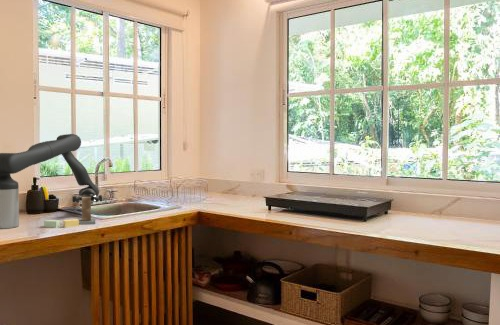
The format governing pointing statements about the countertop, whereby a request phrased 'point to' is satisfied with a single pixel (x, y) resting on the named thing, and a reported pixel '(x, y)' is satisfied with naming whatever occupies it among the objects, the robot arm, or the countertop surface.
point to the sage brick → (52, 223)
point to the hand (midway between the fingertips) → (87, 200)
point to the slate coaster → (86, 222)
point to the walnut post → (86, 208)
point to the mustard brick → (70, 223)
